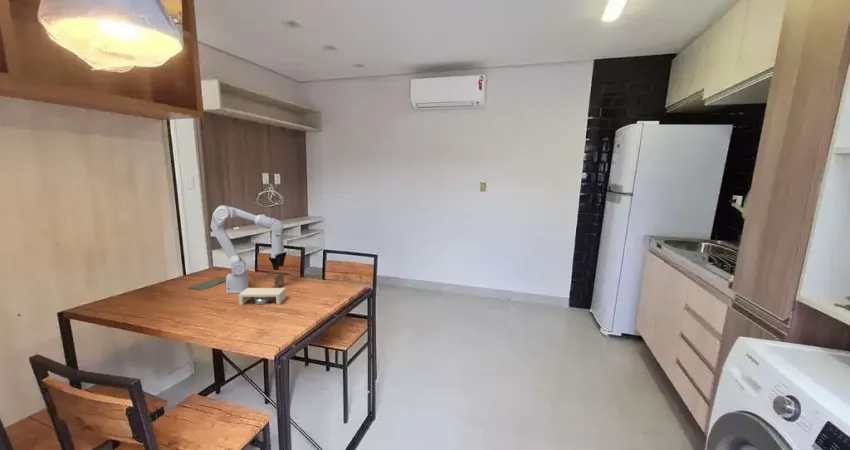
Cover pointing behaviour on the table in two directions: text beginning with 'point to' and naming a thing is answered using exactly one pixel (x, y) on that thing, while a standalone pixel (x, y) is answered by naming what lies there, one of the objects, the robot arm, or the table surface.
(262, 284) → the table surface
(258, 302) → the steel token
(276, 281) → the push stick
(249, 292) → the plinth shelf
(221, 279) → the stone slab
